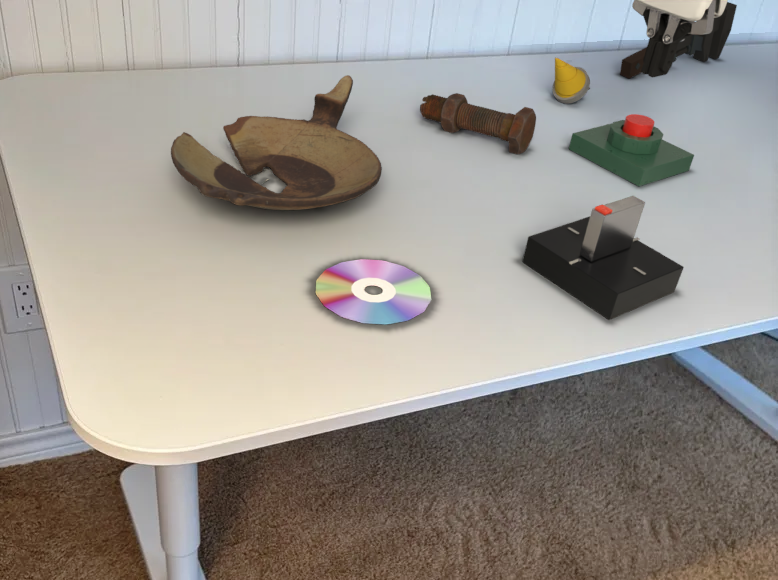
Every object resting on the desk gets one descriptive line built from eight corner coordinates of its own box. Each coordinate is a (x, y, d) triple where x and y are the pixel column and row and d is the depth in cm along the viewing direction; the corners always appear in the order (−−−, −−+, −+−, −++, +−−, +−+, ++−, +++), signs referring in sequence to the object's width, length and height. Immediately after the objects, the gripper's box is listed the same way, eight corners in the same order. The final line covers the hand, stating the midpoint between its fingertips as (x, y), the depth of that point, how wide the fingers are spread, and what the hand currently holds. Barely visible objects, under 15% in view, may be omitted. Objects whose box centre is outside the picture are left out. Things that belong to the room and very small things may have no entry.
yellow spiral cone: (594, 110, 122) (572, 70, 113) (559, 117, 124) (535, 78, 116) (597, 78, 123) (576, 36, 115) (562, 86, 126) (539, 45, 117)
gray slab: (619, 240, 85) (633, 193, 81) (630, 247, 84) (646, 199, 80) (579, 254, 82) (592, 206, 78) (591, 262, 81) (605, 213, 77)
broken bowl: (126, 187, 91) (118, 119, 86) (321, 123, 108) (324, 63, 103) (262, 272, 80) (262, 199, 75) (454, 185, 98) (464, 122, 93)
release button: (656, 136, 105) (660, 122, 104) (638, 141, 104) (642, 127, 102) (634, 125, 107) (638, 112, 106) (616, 130, 106) (620, 116, 104)
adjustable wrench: (614, 101, 137) (712, 49, 146) (626, 107, 135) (725, 54, 144) (621, 51, 131) (723, 0, 139) (634, 57, 129) (737, 4, 138)
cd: (360, 247, 85) (360, 247, 85) (453, 288, 80) (453, 287, 80) (290, 292, 78) (290, 291, 78) (388, 339, 73) (389, 339, 73)
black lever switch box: (675, 292, 84) (685, 265, 82) (608, 320, 79) (617, 292, 77) (587, 239, 91) (595, 212, 89) (521, 262, 86) (527, 235, 84)
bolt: (424, 131, 114) (525, 159, 108) (410, 122, 109) (515, 151, 104) (437, 88, 112) (540, 114, 107) (424, 77, 108) (531, 104, 102)
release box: (688, 170, 107) (699, 141, 104) (639, 186, 102) (648, 155, 99) (618, 136, 114) (626, 107, 111) (568, 149, 109) (575, 119, 106)
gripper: (787, -87, 86) (723, 90, 98) (672, -116, 95) (626, 50, 107) (745, -84, 82) (684, 100, 94) (630, -114, 91) (587, 58, 103)
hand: (654, 73), depth 101 cm, fingers closed
